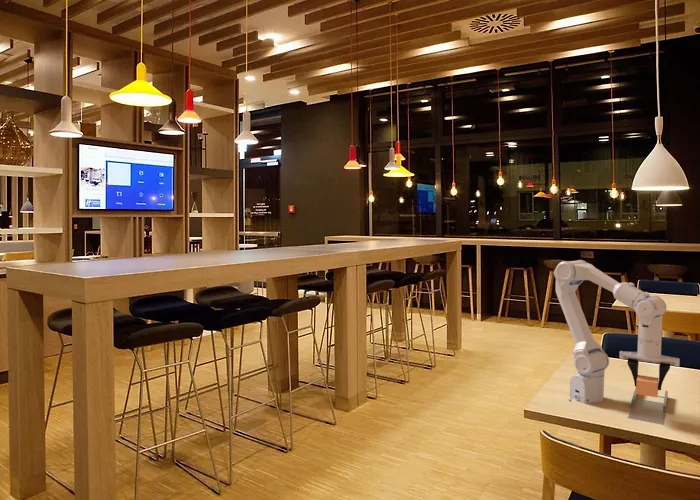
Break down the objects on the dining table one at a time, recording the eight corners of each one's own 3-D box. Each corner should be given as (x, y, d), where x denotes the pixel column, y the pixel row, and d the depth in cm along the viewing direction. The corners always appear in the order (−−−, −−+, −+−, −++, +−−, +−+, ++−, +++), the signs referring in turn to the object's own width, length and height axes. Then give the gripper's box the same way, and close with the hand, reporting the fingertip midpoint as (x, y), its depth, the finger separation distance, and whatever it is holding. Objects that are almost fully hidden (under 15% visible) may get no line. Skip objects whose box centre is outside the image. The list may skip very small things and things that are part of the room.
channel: (663, 428, 140) (664, 417, 140) (627, 421, 145) (627, 410, 145) (667, 400, 161) (667, 390, 161) (635, 395, 166) (636, 386, 166)
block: (657, 397, 141) (657, 383, 141) (636, 394, 144) (636, 380, 143) (658, 391, 145) (658, 377, 145) (637, 388, 148) (637, 375, 148)
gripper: (680, 340, 145) (678, 388, 146) (622, 333, 153) (620, 379, 154) (679, 345, 139) (678, 395, 140) (619, 338, 147) (617, 385, 148)
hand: (647, 387), depth 147 cm, fingers closed on block, 5 cm apart
